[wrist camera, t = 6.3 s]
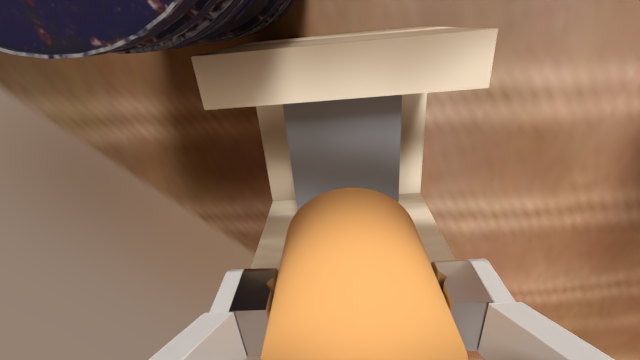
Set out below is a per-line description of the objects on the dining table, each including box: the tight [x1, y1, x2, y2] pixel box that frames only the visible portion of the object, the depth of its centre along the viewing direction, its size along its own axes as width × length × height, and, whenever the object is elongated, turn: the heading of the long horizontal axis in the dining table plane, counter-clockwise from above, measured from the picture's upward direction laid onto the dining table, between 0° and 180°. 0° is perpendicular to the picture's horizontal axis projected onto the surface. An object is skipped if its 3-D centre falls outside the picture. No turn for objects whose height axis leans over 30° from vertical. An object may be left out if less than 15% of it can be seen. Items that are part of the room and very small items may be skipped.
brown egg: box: [261, 188, 468, 360], centre depth 9 cm, size 5×5×4 cm
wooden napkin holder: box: [191, 26, 498, 271], centre depth 18 cm, size 13×11×10 cm
